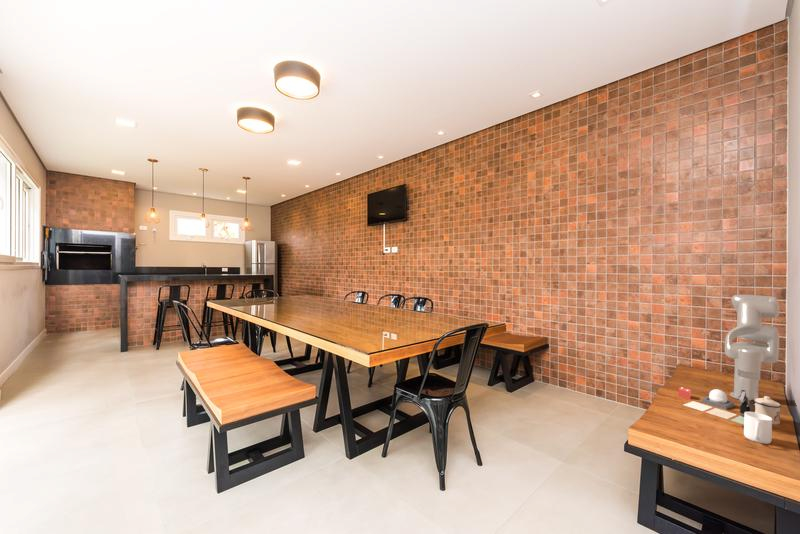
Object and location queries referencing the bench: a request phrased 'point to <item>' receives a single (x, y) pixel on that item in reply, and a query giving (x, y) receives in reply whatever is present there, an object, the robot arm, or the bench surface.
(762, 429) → the cup
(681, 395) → the red die
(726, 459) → the bench surface
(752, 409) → the pawn
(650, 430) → the bench surface
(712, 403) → the dome housing
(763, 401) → the teacup with lid
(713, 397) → the dome
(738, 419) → the game board
